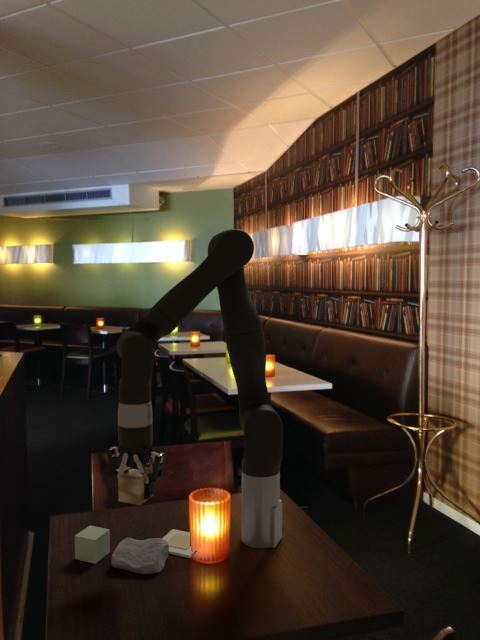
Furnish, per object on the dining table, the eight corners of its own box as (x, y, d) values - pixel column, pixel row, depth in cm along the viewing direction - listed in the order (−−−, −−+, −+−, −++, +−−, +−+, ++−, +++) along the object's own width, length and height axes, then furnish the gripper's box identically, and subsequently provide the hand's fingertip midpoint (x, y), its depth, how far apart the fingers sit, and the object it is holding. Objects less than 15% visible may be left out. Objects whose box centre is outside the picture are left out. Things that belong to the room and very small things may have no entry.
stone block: (160, 583, 113) (171, 551, 123) (158, 564, 112) (169, 533, 121) (107, 582, 114) (122, 550, 124) (104, 563, 113) (119, 532, 123)
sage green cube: (109, 552, 122) (109, 529, 122) (95, 564, 117) (94, 540, 117) (90, 547, 124) (90, 525, 124) (75, 559, 119) (74, 535, 119)
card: (208, 538, 129) (208, 535, 129) (190, 558, 120) (190, 554, 120) (172, 531, 133) (172, 528, 132) (152, 550, 123) (152, 546, 123)
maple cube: (153, 495, 119) (153, 471, 119) (140, 505, 114) (139, 480, 113) (132, 492, 121) (132, 468, 121) (118, 501, 116) (118, 476, 115)
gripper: (172, 420, 117) (172, 494, 118) (117, 414, 122) (118, 485, 123) (154, 429, 110) (155, 508, 111) (97, 422, 115) (98, 497, 117)
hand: (136, 495), depth 117 cm, fingers closed on maple cube, 5 cm apart
